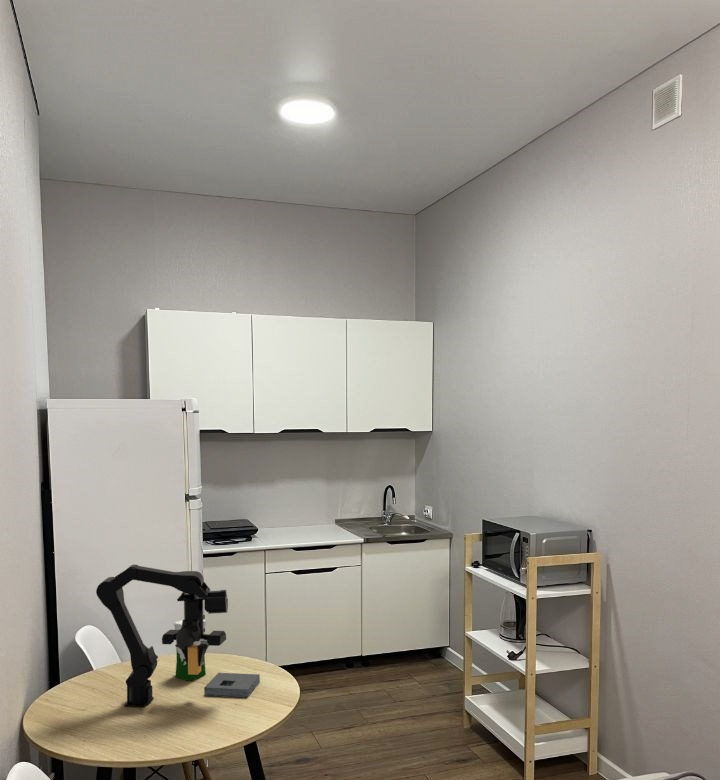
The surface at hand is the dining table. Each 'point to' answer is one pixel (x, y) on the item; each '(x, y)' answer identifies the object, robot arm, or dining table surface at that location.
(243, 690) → the gray slab with hole
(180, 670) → the milk carton
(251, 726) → the dining table surface
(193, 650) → the tan rectangular box
